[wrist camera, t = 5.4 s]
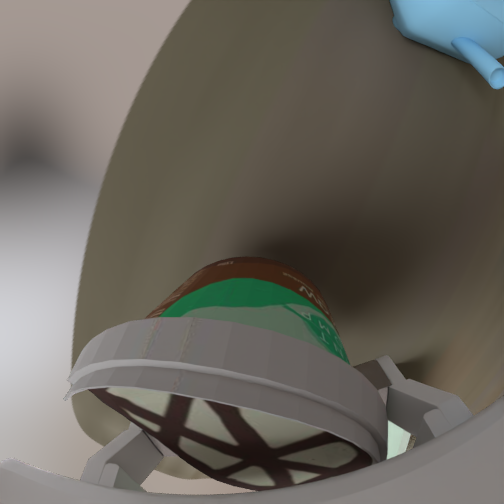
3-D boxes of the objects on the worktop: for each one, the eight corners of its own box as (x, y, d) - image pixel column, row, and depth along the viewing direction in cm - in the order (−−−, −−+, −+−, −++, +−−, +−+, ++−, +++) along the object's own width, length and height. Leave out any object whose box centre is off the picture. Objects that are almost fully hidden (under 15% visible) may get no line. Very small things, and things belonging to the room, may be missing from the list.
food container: (390, 332, 15) (448, 472, 6) (314, 386, 17) (320, 524, 8) (239, 180, 13) (138, 241, 4) (165, 263, 15) (49, 387, 6)
